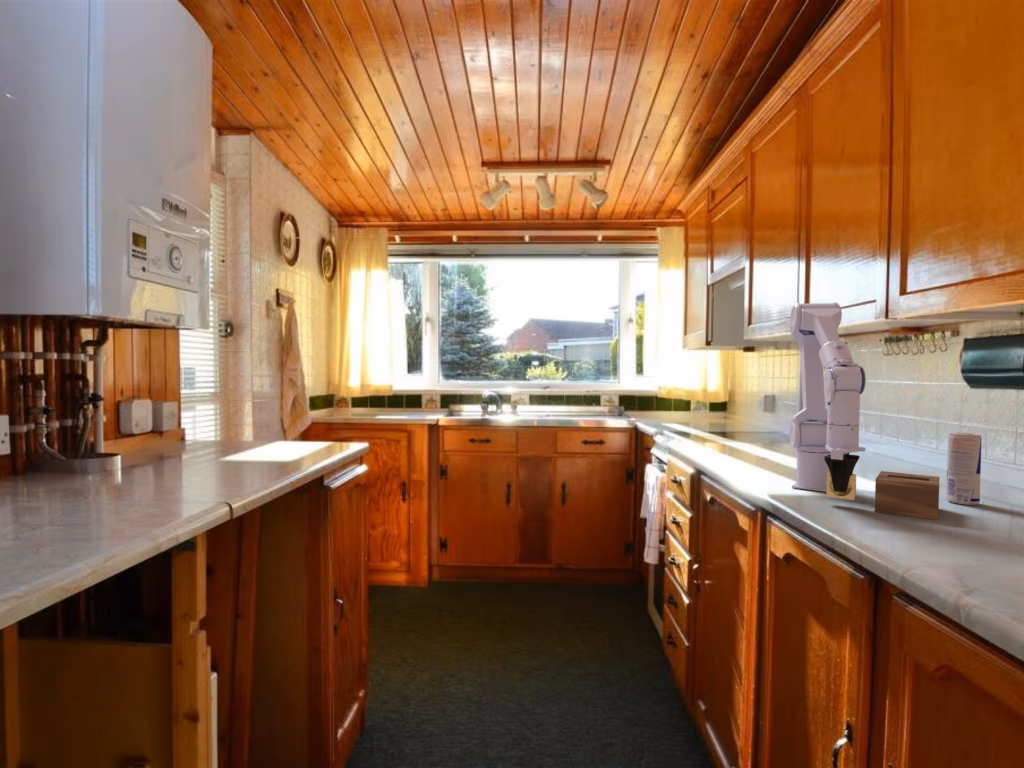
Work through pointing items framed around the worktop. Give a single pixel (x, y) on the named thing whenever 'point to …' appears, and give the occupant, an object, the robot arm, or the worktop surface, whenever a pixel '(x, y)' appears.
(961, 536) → the worktop surface
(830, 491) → the tan square block
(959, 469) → the white cylindrical canister
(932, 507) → the money box
